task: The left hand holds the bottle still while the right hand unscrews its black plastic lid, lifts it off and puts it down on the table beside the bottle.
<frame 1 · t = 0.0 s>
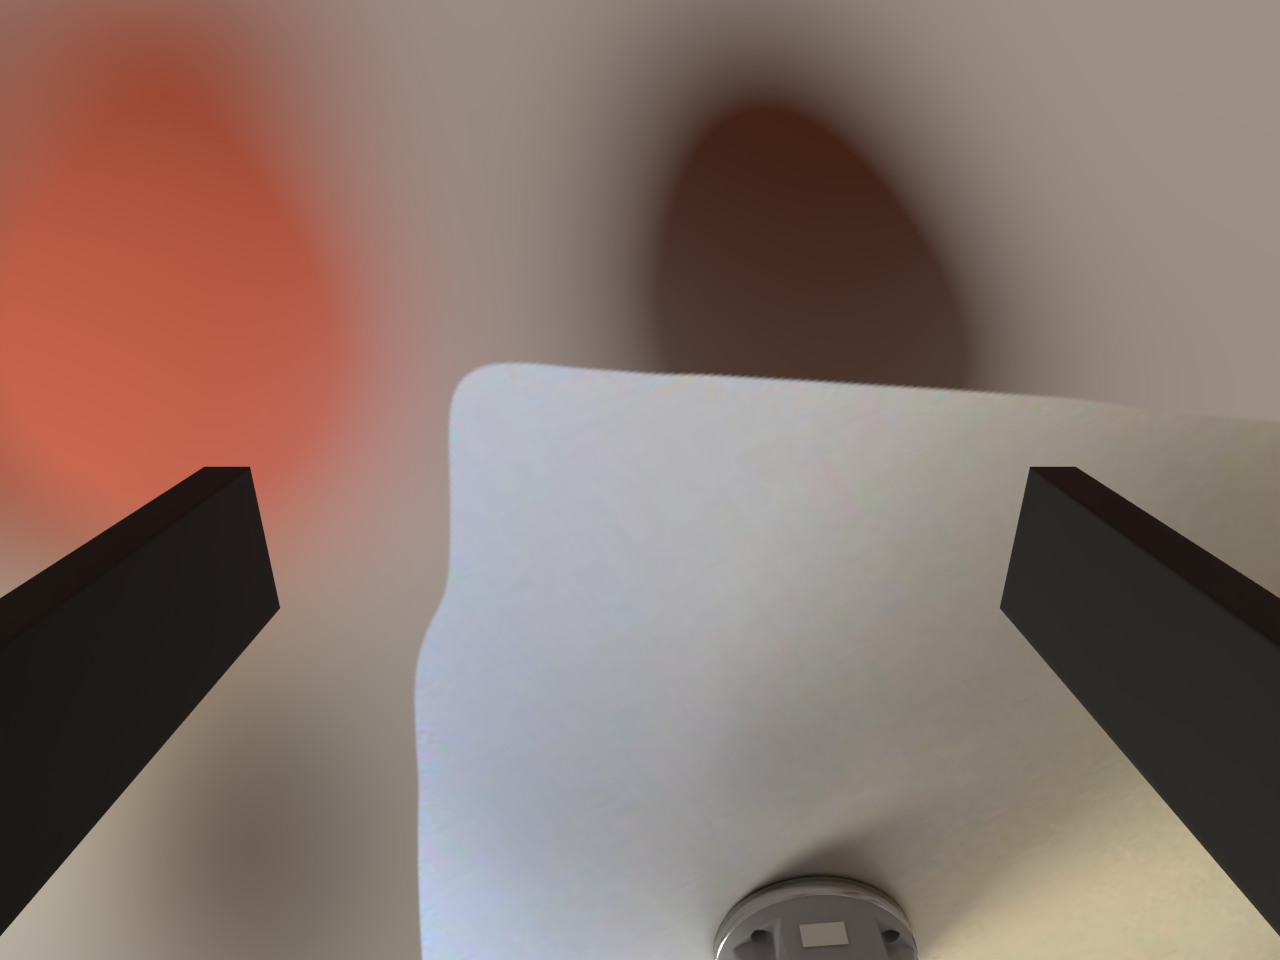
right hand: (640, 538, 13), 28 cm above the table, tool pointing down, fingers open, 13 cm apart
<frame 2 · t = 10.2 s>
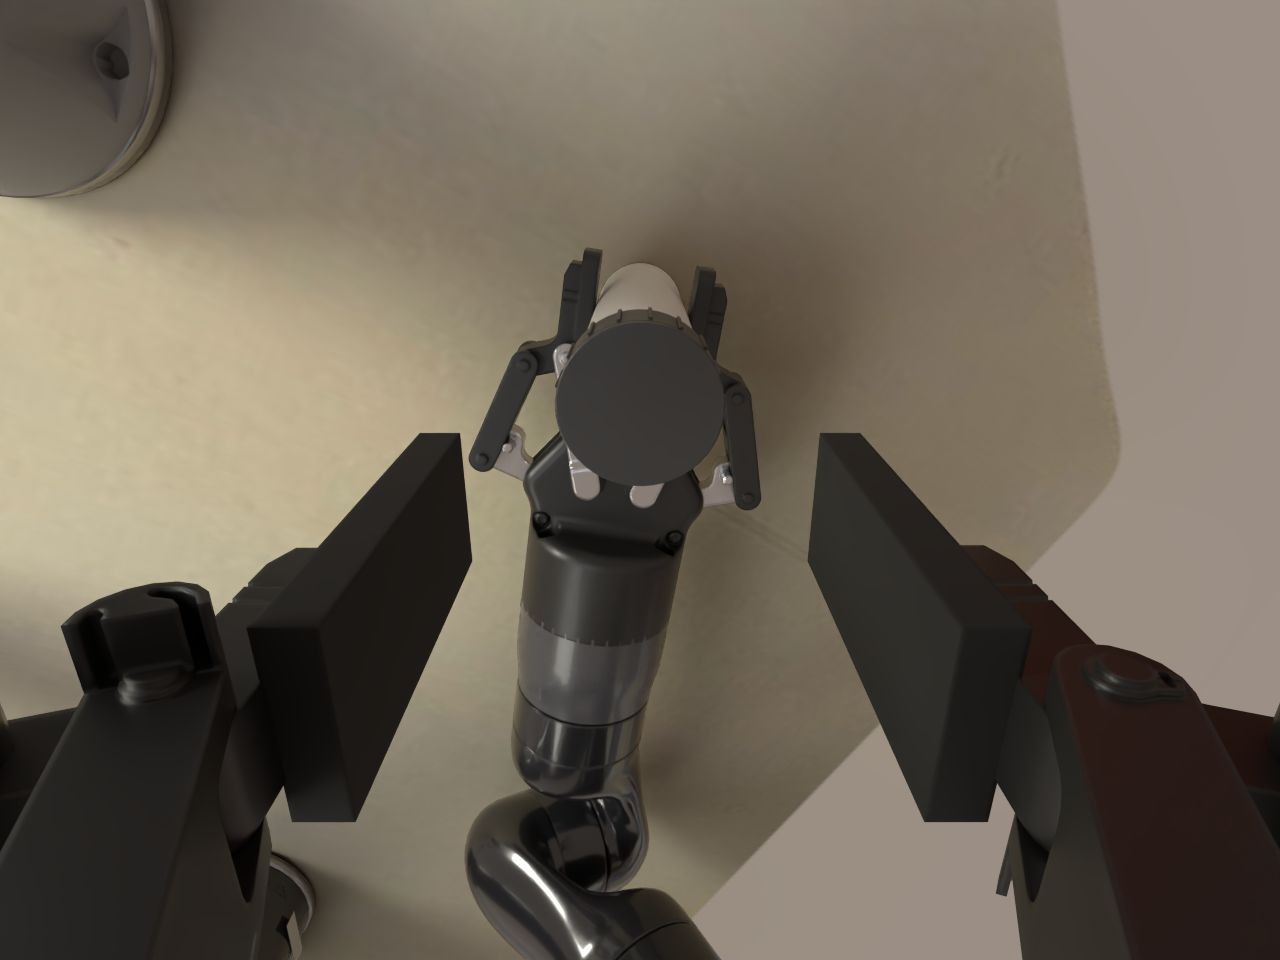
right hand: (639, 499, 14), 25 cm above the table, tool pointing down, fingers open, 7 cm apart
left hand: (649, 261, 31), fingers closed on bottle, 4 cm apart
lid: (640, 404, 20), point 18 cm above the table, screwed on, not yet turned
bottle: (639, 305, 37), on the table, touching left hand
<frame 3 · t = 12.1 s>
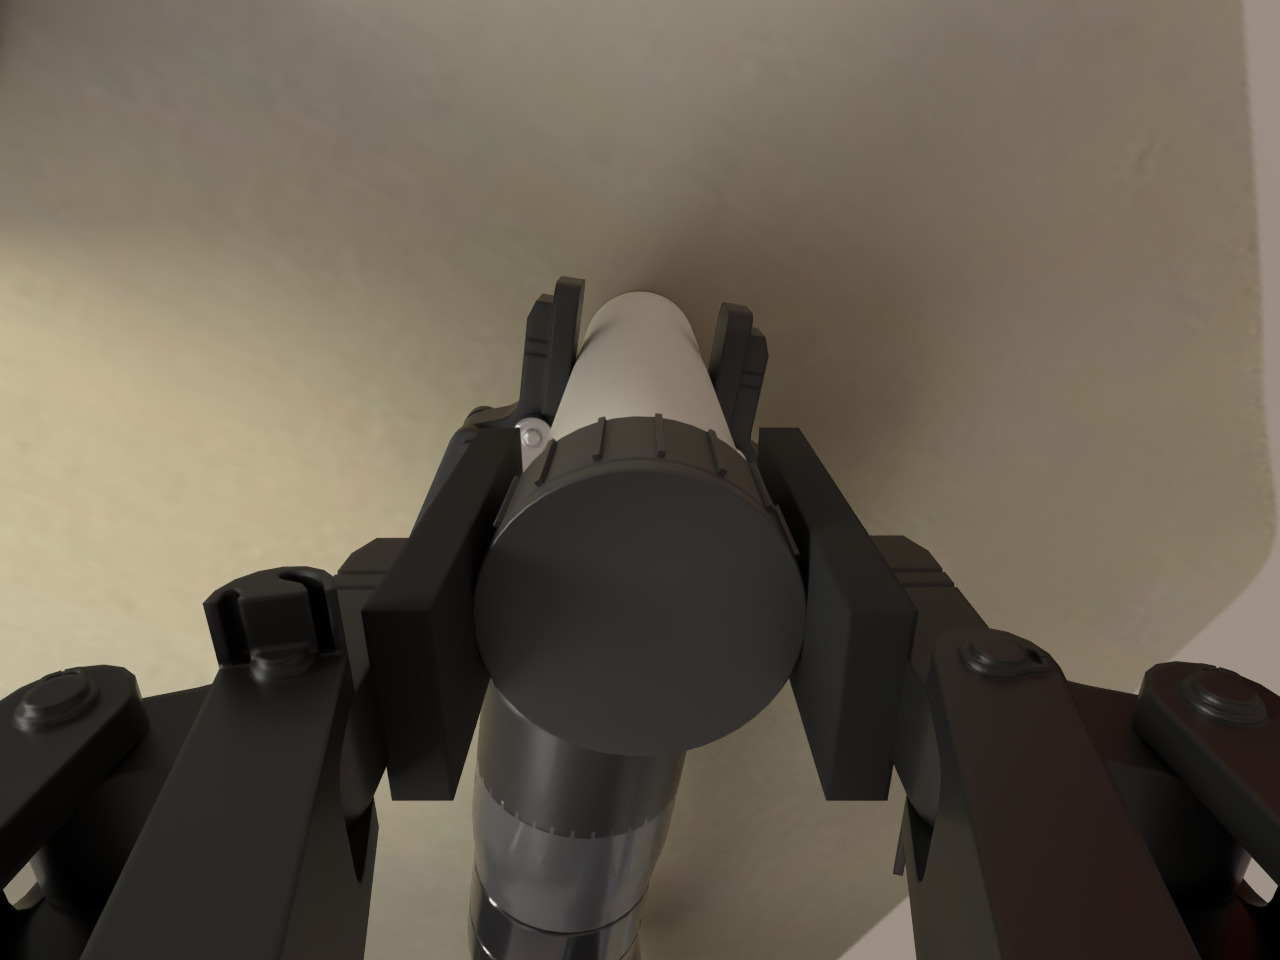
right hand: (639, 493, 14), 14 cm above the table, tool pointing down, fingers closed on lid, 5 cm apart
lid: (639, 611, 10), point 18 cm above the table, screwed on, not yet turned, touching right hand
bottle: (639, 347, 27), on the table, touching left hand
when the right hand's fingers open (14 cm above the table, at t = 13.5 s): lid stays where it is, point 19 cm above the table.
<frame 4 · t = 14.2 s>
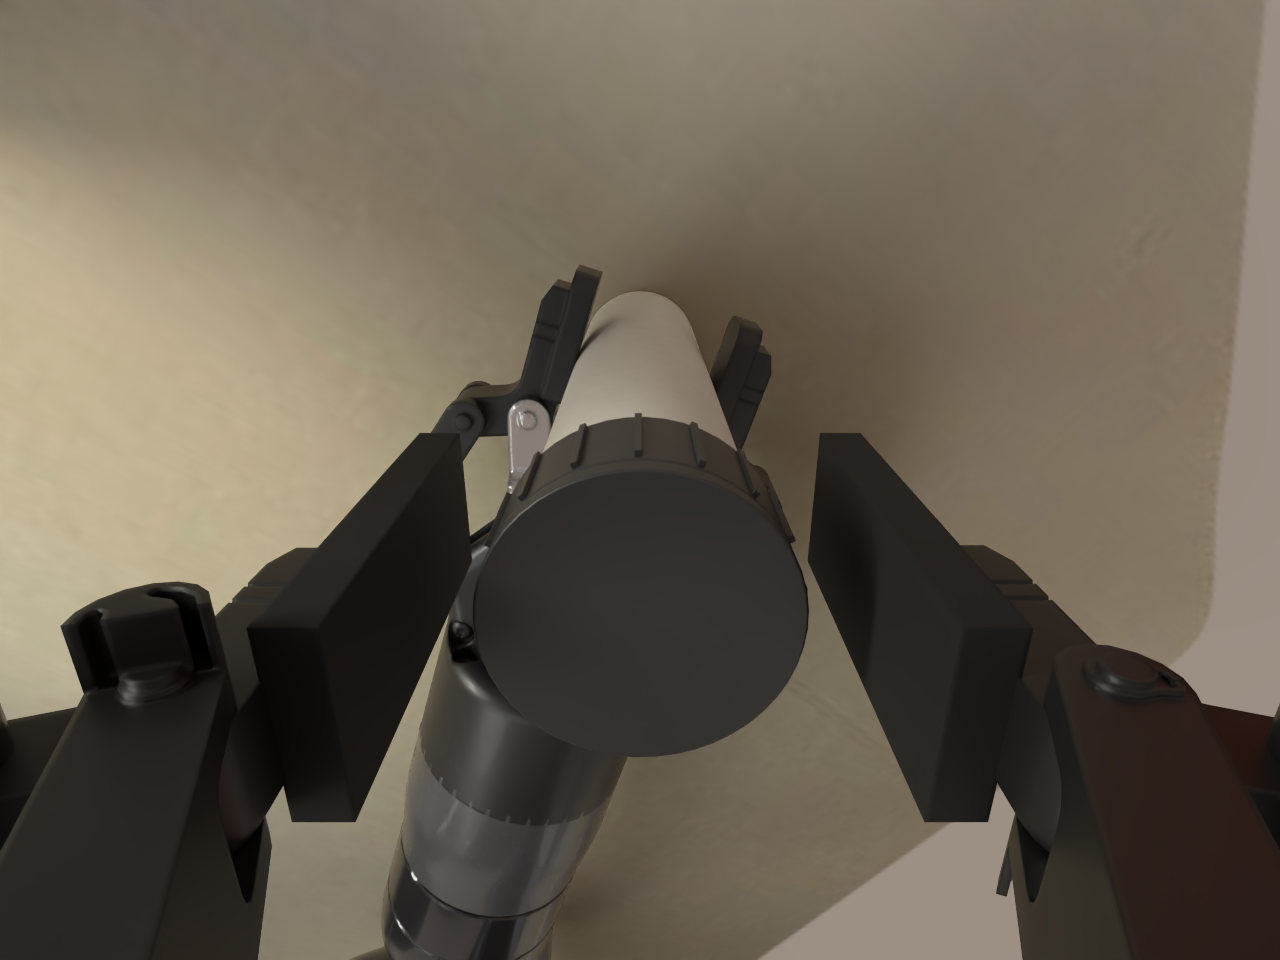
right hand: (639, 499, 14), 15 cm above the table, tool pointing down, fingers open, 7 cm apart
lid: (640, 612, 10), point 19 cm above the table, turned 80° so far, risen 0.2 cm, still on its thread
bottle: (639, 346, 28), on the table, touching left hand
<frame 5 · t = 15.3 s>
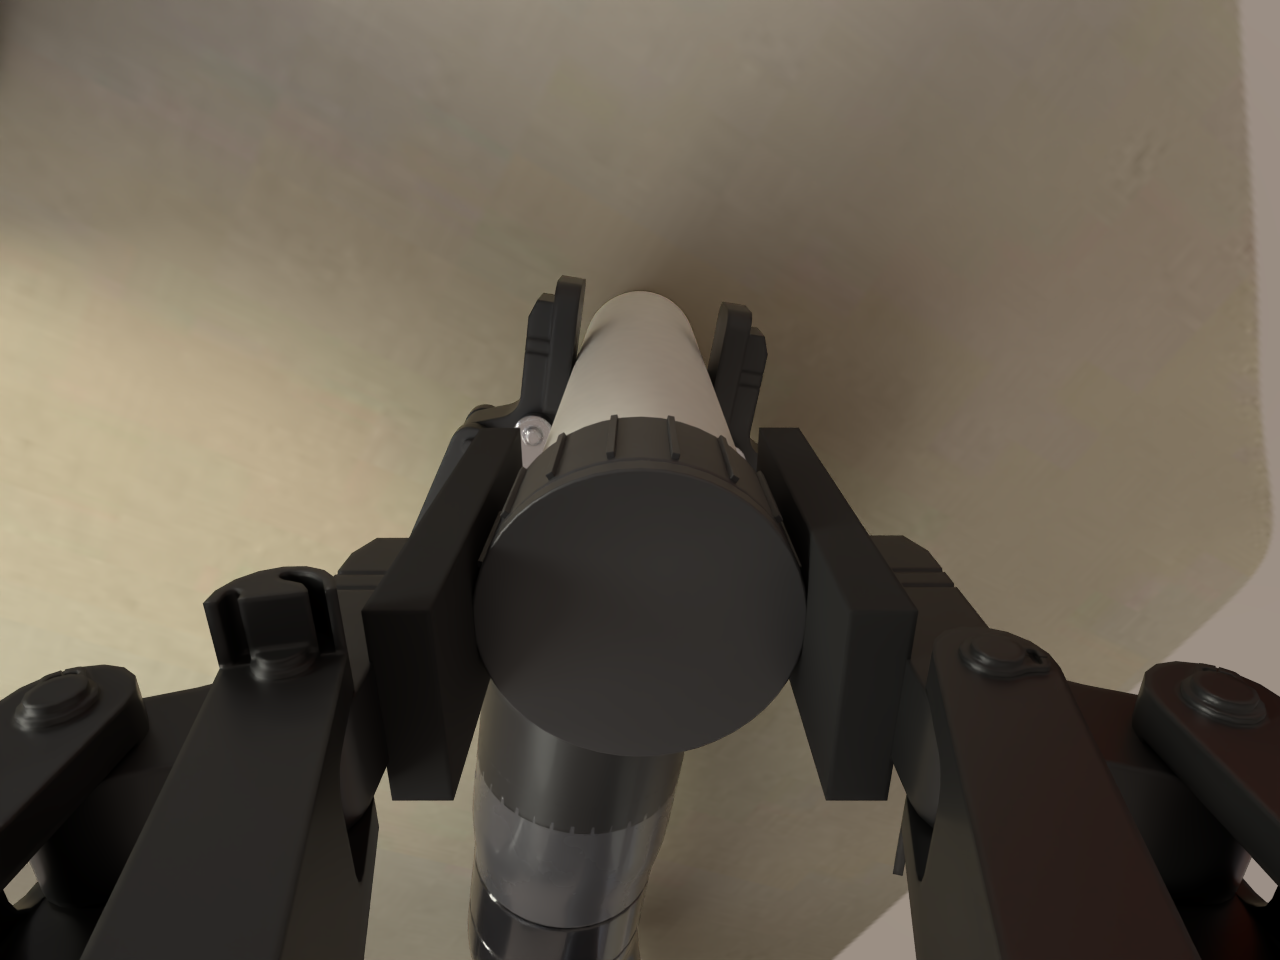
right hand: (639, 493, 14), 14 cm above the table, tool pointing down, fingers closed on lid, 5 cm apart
lid: (639, 612, 10), point 19 cm above the table, turned 80° so far, risen 0.2 cm, still on its thread, touching right hand
bottle: (639, 346, 28), on the table, touching left hand
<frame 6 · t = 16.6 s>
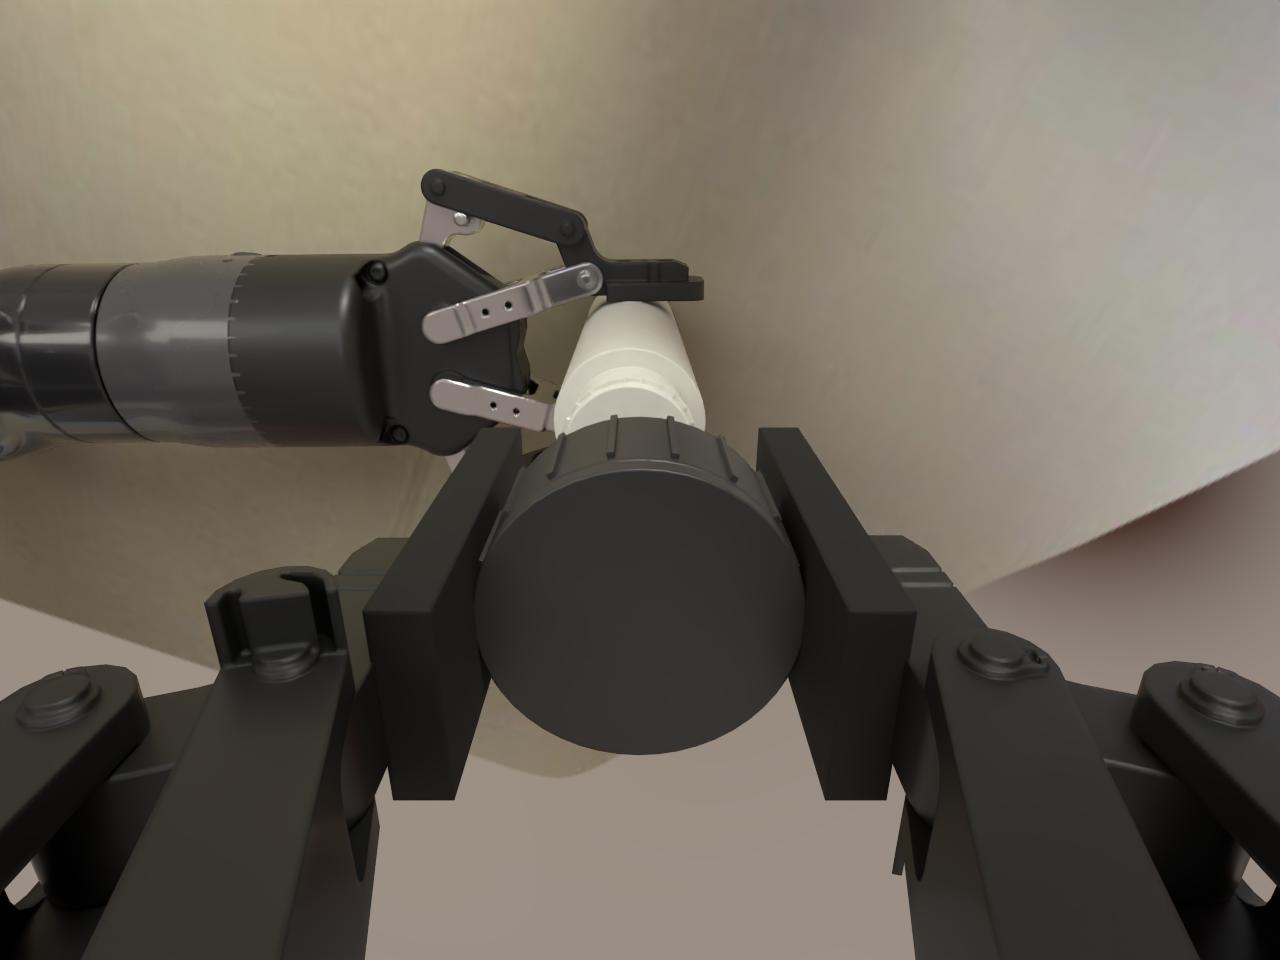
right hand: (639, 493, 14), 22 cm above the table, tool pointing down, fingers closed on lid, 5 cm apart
left hand: (698, 348, 29), fingers closed on bottle, 4 cm apart
lid: (639, 611, 10), point 26 cm above the table, off its thread, touching right hand
bottle: (630, 324, 35), on the table, touching left hand
when the right hand's fingers open (0 cm above the table, at t = 22.7 s): lid drops 2 cm, point 2 cm above the table.
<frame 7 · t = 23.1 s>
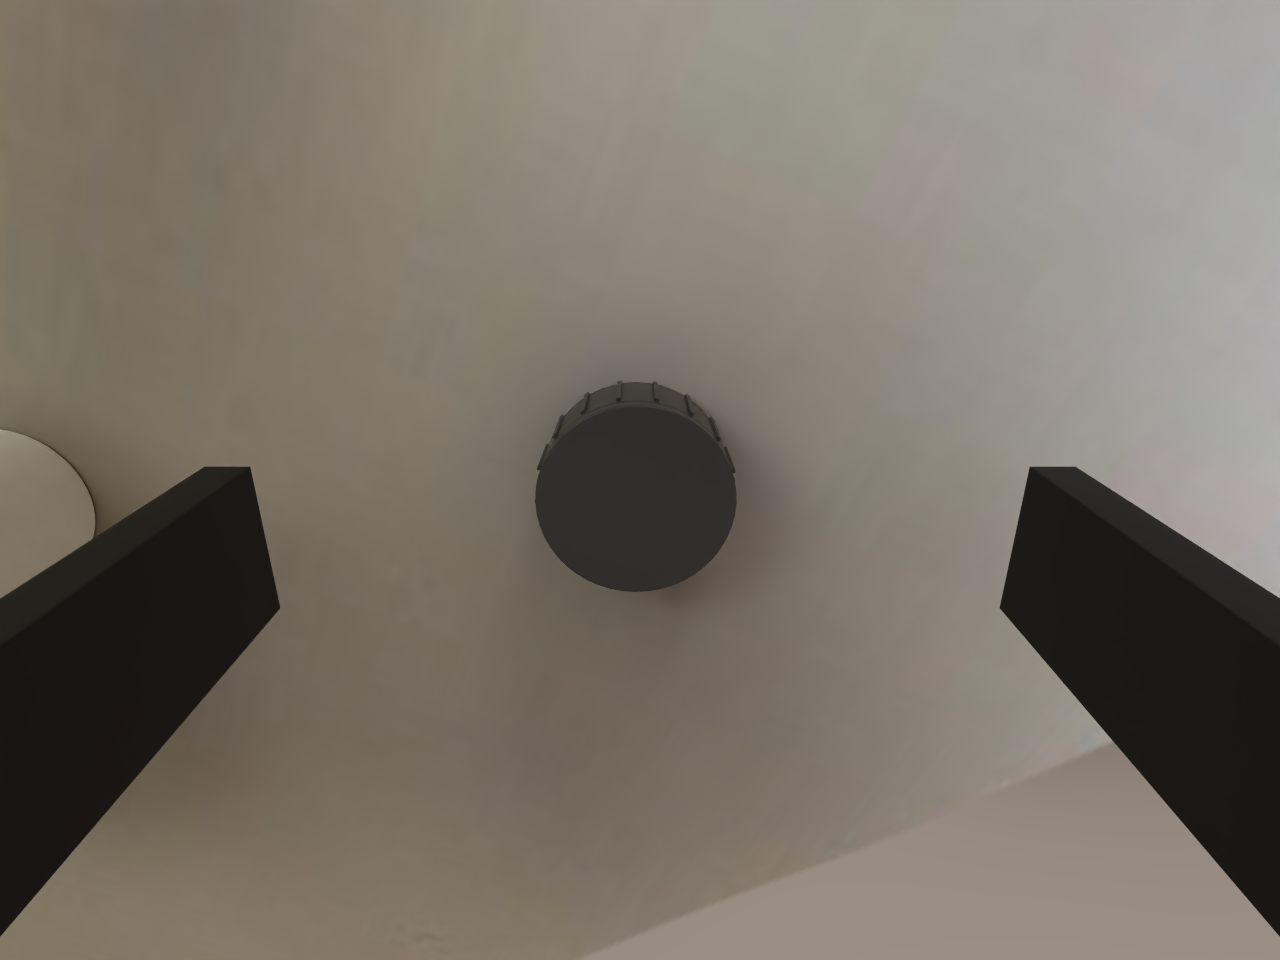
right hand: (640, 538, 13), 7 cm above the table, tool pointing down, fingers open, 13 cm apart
lid: (636, 497, 17), point 2 cm above the table, off its thread
bottle: (15, 503, 19), on the table, touching left hand
when the left hand's fingers open (6 cm above the table, at t = 23.2 s): bottle stays where it is, on the table.
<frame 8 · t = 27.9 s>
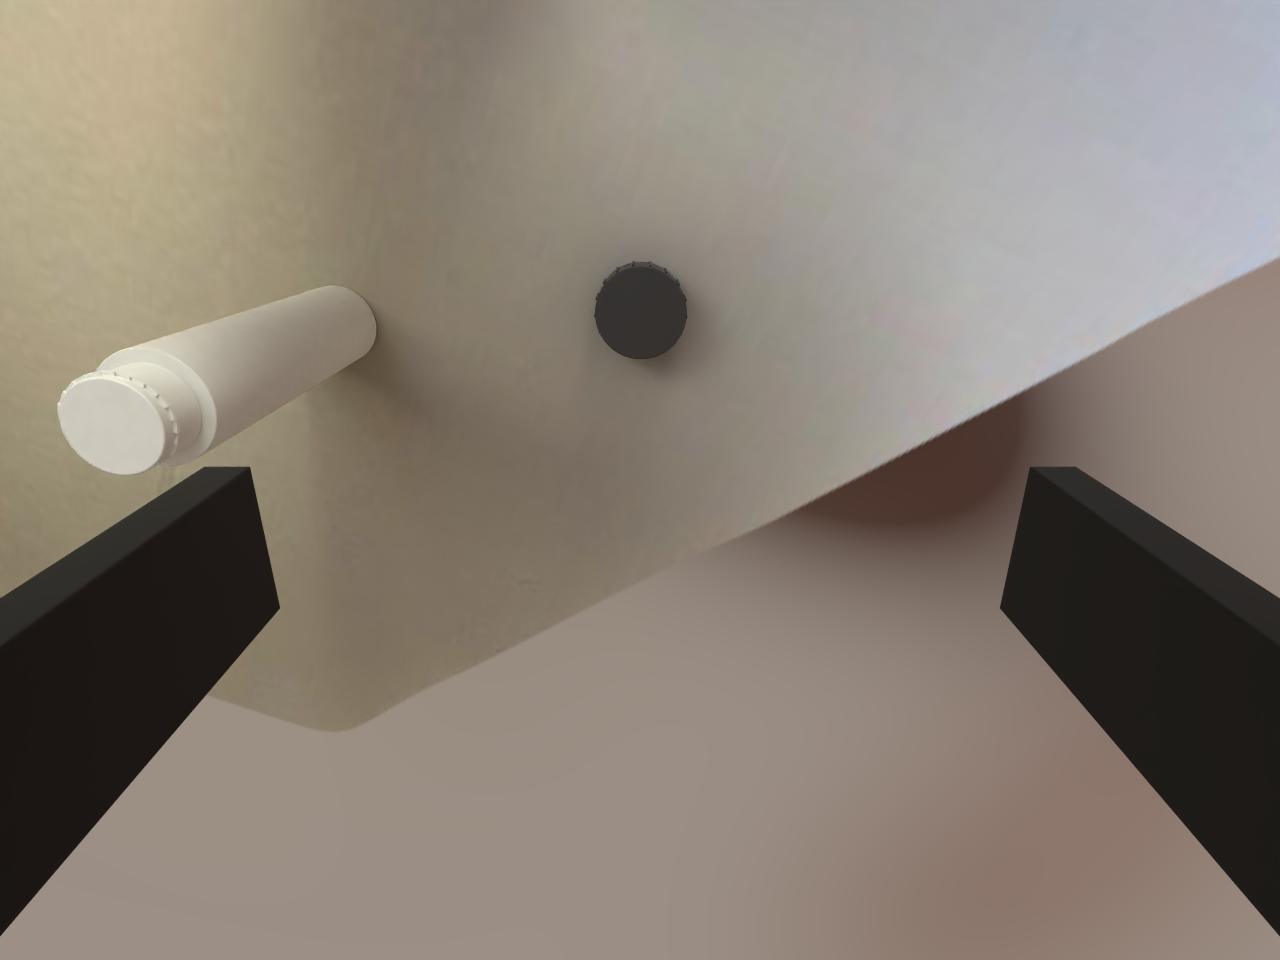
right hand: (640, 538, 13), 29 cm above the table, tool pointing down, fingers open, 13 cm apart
lid: (640, 312, 37), point 2 cm above the table, off its thread
bottle: (338, 324, 40), on the table
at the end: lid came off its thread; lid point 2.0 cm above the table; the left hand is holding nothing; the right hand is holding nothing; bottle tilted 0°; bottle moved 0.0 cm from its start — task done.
